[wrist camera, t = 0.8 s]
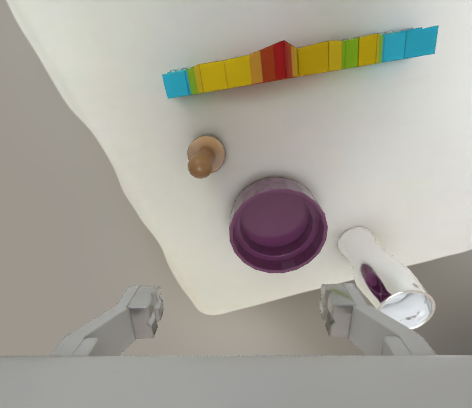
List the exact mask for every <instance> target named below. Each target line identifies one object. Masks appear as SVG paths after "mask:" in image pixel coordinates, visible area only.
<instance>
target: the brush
mask: <svg viewBox="0 0 472 408" xmlns="http://www.w3.org/2000/svg"><path fill="white" fill-rule="evenodd" d="M188 160H189V162H188V170H189V172H190V174H191V175H192V176H194V177H196V178H200V179H201V178H206V177H207V176H209V175H210V174H211V173H213V172H215V171H217V170H218V169H220V168H221V166H222V165H223V163H224V160H225V149H224V147H223V145H222V143H221V142H220V141H219V140H218V139H217V138H215V137H213V136H208V135H204V136H200V137H198V138H196V139H195V140H194V141H193V142H192V143H191V144H190V146H189V148H188Z"/></svg>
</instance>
